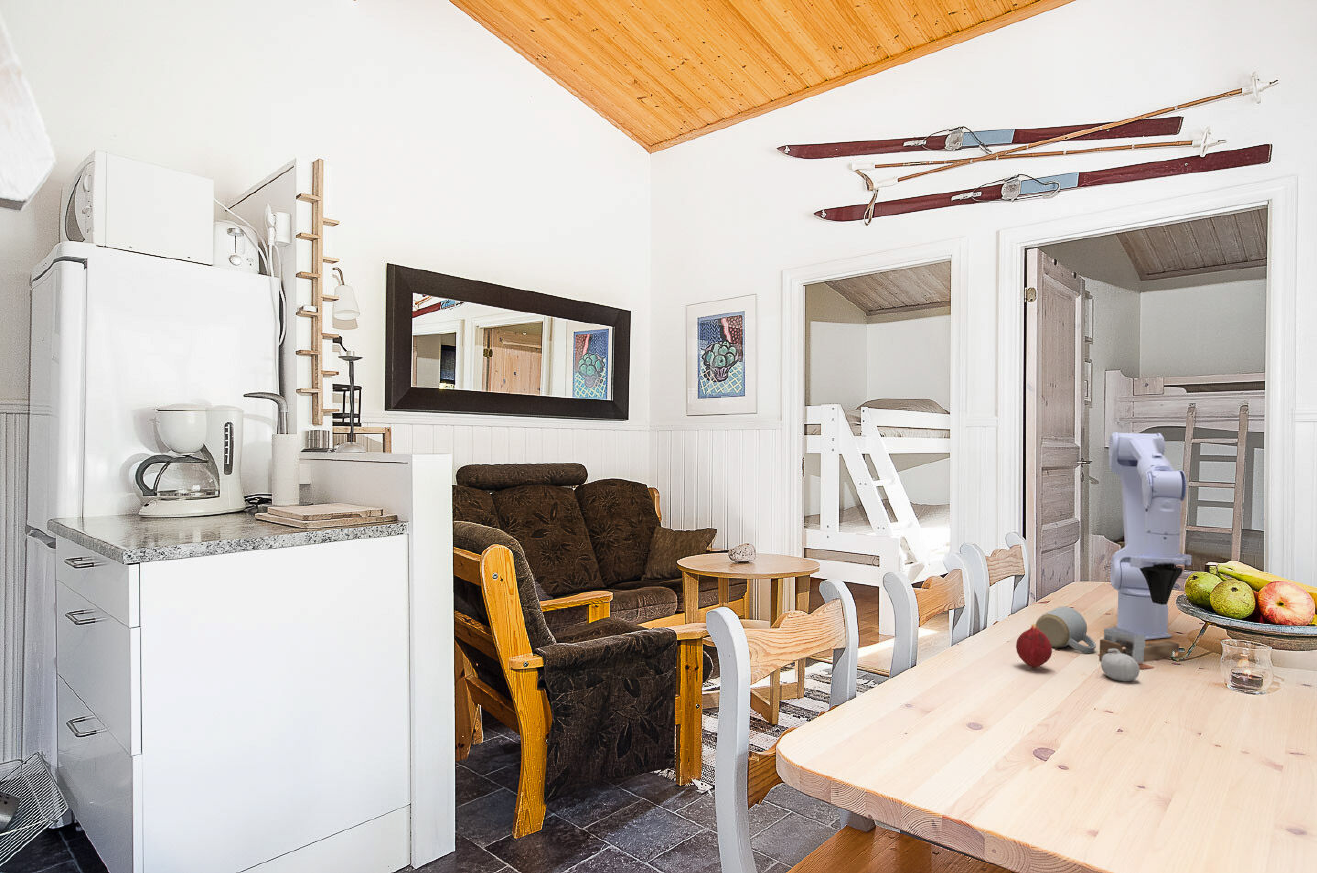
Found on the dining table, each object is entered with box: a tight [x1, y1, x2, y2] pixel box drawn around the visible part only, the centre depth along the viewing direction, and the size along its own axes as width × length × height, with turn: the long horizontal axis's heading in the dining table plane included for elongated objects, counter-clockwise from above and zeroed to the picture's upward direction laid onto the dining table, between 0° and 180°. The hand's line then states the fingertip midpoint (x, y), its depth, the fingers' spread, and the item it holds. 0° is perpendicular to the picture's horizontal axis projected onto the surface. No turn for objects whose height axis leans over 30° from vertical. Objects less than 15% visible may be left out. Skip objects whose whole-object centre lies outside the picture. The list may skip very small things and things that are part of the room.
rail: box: [1097, 638, 1180, 670], centre depth 145 cm, size 18×9×4 cm, turn 112°
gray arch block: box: [1103, 626, 1146, 664], centre depth 143 cm, size 3×6×5 cm, turn 22°
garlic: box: [1100, 649, 1141, 682], centre depth 133 cm, size 6×5×5 cm
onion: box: [1015, 623, 1053, 670], centre depth 137 cm, size 6×6×8 cm
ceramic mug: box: [1035, 606, 1097, 654], centre depth 152 cm, size 10×8×7 cm
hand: (1159, 603), depth 146 cm, fingers closed
